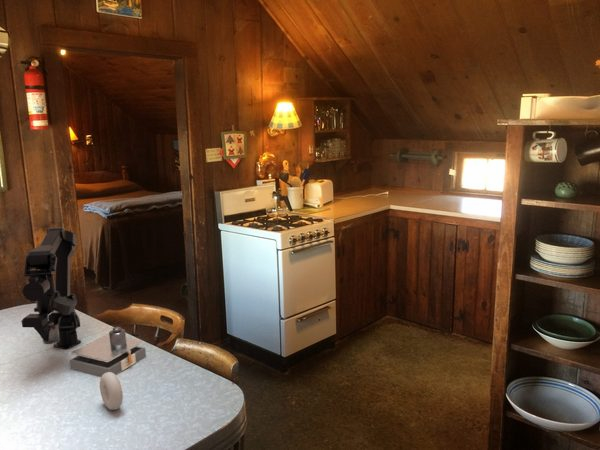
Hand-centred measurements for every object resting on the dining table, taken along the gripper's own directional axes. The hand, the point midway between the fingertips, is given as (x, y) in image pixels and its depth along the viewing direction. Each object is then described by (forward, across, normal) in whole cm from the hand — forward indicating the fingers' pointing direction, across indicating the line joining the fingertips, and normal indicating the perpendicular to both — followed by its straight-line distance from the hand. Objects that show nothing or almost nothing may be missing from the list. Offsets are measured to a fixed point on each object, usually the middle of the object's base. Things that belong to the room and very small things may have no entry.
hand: (51, 337), depth 163 cm
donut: (+10, -24, -29) cm, 39 cm away
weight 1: (+1, 0, 0) cm, 1 cm away
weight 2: (+4, +2, -20) cm, 21 cm away
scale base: (+9, +2, -17) cm, 19 cm away
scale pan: (+8, +2, -18) cm, 19 cm away
